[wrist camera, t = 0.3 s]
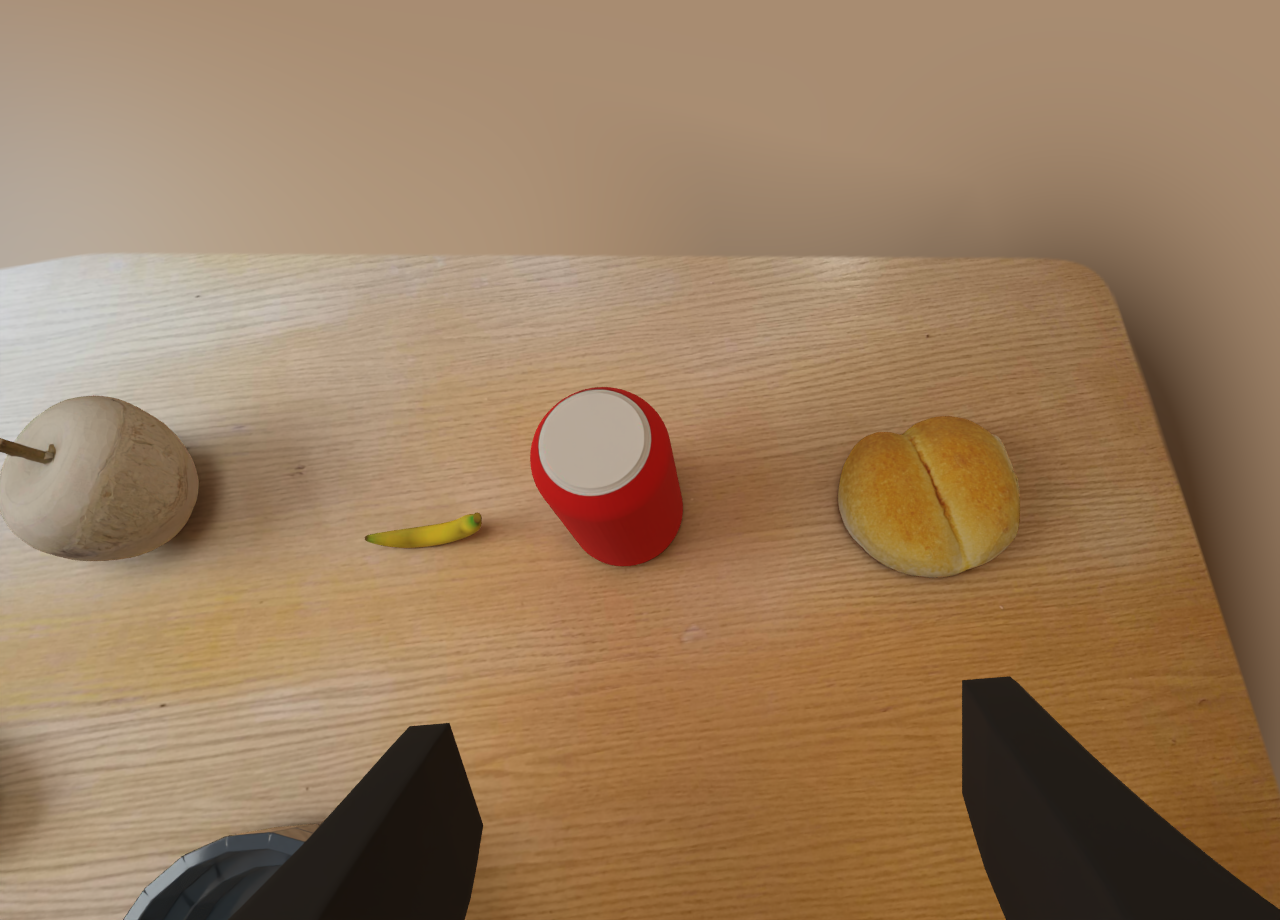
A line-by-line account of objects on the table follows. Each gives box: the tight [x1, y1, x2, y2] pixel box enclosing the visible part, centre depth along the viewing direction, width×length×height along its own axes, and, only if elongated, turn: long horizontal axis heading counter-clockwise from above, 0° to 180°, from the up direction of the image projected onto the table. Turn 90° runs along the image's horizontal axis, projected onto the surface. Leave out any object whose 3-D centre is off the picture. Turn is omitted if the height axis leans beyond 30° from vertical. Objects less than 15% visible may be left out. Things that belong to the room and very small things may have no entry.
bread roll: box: [838, 416, 1020, 578], centre depth 42 cm, size 8×9×4 cm
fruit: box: [365, 513, 482, 548], centre depth 44 cm, size 7×1×3 cm, turn 95°
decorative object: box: [0, 396, 199, 561], centre depth 44 cm, size 9×9×10 cm
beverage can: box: [530, 387, 683, 566], centre depth 39 cm, size 6×6×12 cm
